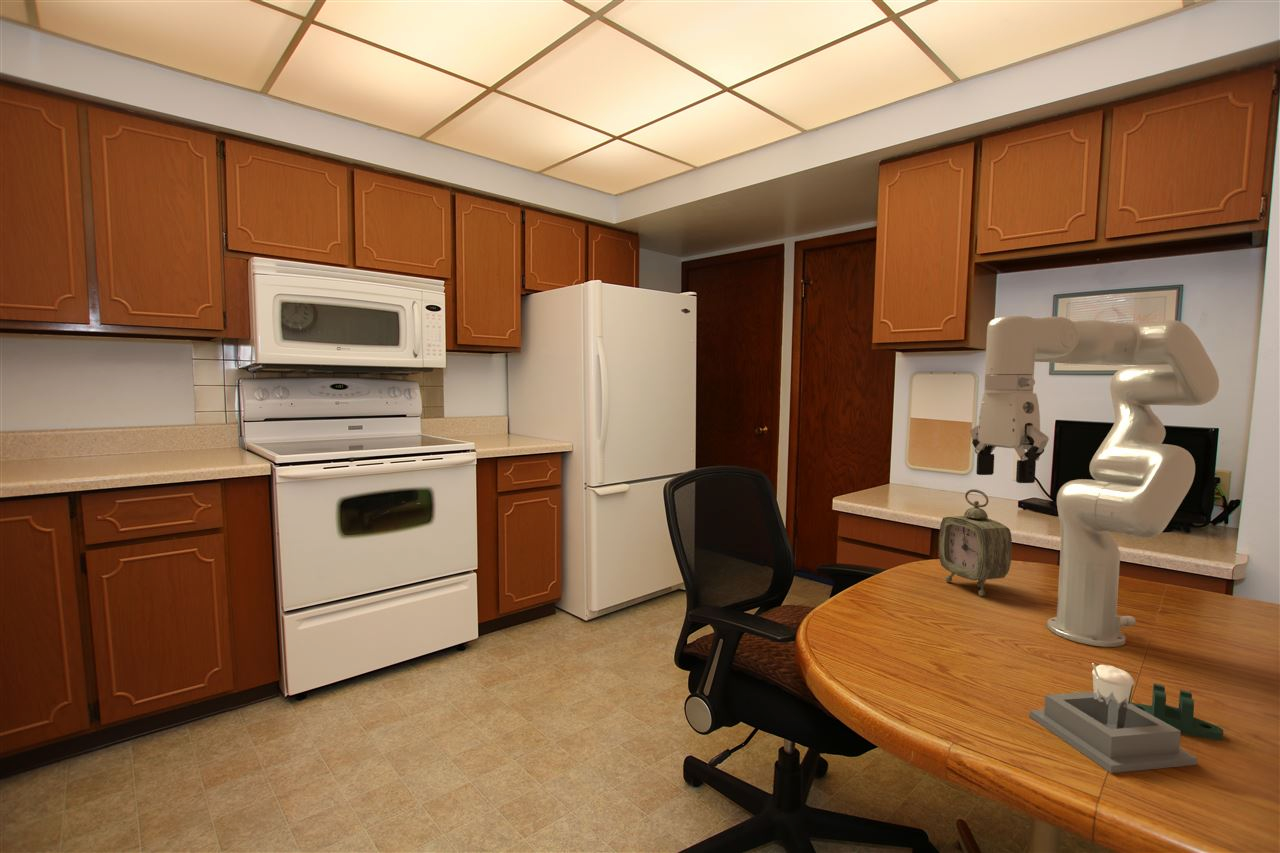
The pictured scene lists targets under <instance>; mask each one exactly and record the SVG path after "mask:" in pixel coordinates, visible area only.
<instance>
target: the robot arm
mask: <svg viewBox="0 0 1280 853" xmlns="http://www.w3.org/2000/svg"><path fill="white" fill-rule="evenodd" d="M985 348H986V349H985V350H986V351H985V372H984V374H985V376H984V388H983V389H984V392H983V395H982V399H981V403H980V408H979V409H980V410H979V415H978V425H976V426H974V427H973V428H971V429H970V430H969V433H970V438H971V440H972V441H971V443H972V445H973V447H974V453H975V454H976V475H977V476H992V475H994V471H995V454H994V453H993V451H994V450H995V448H997V447H998V448H1004V449H1005V448H1006V449H1014V451H1015V452H1016V454H1017V455H1018V458H1019V459H1017V460H1016V470H1015V471H1016V472H1015V473H1016V475H1015V482H1016V483H1018V484H1034V483H1035V482H1036V466H1037V465H1036V464H1037V461H1039V460H1040V457H1041V455H1042V454H1043V453H1044V452H1045V448H1046V446H1047V444H1048V442H1049V439H1050V438H1049V437H1048V435H1046V434H1045V433H1043V432H1042V431H1041V416H1040V415H1041V414H1040V406H1039V399H1038V394H1037V393H1035V392H1034V385H1035V384H1036V380H1035V363H1054V364H1055V363H1056V364H1068V365H1069V364H1070V365H1100V366H1102V365H1104V366H1115V367H1118V366H1119V367H1122V368H1120V369H1118V370H1117V371H1116V372H1114V374H1113V375H1112V377H1111V380H1110V386H1109V389H1110V395H1111V401H1112V405H1113V410H1114V423H1113V425H1112V427H1111V429H1110V430H1109V432H1107V435H1106V437H1105V438H1104V439H1103V441H1102V442H1101V444H1100V446H1099V447H1098V449H1097V450H1096V452H1095V453H1094V455H1093V456H1092V459H1091V461H1090V462H1089V473H1090V476H1091V477H1092V478H1093V479H1086V478H1085V479H1083V478H1081V479H1080V478H1079V479H1074V480H1069V481H1067V482H1065V483H1064V484H1063V485H1062V486H1061V487H1060V488H1059V490H1058V492H1057V494H1056V506H1057V514H1058V519H1059V520H1058V521H1059V525H1060V526H1059V529H1060V552H1059V571H1058V585H1057V586H1058V587H1057V588H1058V590H1057V608H1056V616H1054V617H1050V618H1048V619H1047V622H1046V623H1047V624H1046V627H1047V628H1048V629H1049V631H1051V632H1052V633H1054V634H1055V635H1057V636H1060V637H1062V638H1064V639H1066V640H1069V641H1073V642H1076V643H1079V644H1084V645H1088V646H1089V645H1090V646H1096V647H1103V648H1104V647H1106V648H1113V647H1114V648H1116V647H1120V646H1123V645H1124V644H1125V643H1126V636H1125V635H1124V633H1123V632H1121V631H1120V628H1121V629H1122V628H1123V627H1132V626H1135V624H1136V622H1137V621H1136V618H1135V617H1134V616H1132V615H1118V614H1117V610H1118V598H1119V597H1118V591H1119V579H1120V563H1121V553H1120V548H1119V546H1118V544H1117V541H1116V539H1115V538H1114V537H1113V535H1112V533H1114V534H1115V533H1116V534H1119V535H1125V536H1131V537H1136V538H1140V539H1141V538H1142V539H1150V538H1154V537H1156V536H1158V535H1160V534H1161V533H1163V532H1164V530H1165V529H1166V528H1167V526H1168V525H1169V523H1170V522H1171V520H1172V518H1173V517H1174V515H1175V514H1176V512H1177V510H1178V509H1179V507H1180V505H1181V504H1182V502H1183V500H1185V497H1186V496H1187V494H1188V493H1189V490H1190V489H1191V487H1192V485H1193V482H1194V478H1195V474H1196V463H1195V462H1196V461H1195V459H1194V457H1193V456H1192V454H1191V453H1190V451H1188V450H1187V449H1185V448H1183V447H1181V446H1178V445H1174V444H1167V443H1163V442H1164V440H1165V437H1166V434H1167V432H1166V428H1165V426H1164V424H1163V422H1162V420H1161V419H1159V417H1158V416H1157V414H1155V413H1154V412H1153V410H1152V408H1151V406H1180V407H1181V406H1184V407H1185V406H1186V407H1187V406H1188V407H1191V406H1192V407H1194V406H1202V405H1205V404H1207V403H1209V402H1211V401H1212V400H1214V398H1215V397H1216V396H1217V395H1218V393H1219V387H1220V379H1219V375H1218V374H1219V373H1218V372H1217V370H1216V369H1217V368H1215V366H1214V364H1213V362H1212V360H1211V358H1210V357H1209V355H1208V353H1207V351H1206V349H1205V347H1204V345H1203V344H1202V342H1201V341H1200V339H1199V337H1198V336H1197V334H1196V333H1195V332H1194V331H1193V330H1192V329H1191V328H1190V327H1189V326H1188V325H1187V324H1185V323H1184V322H1183V321H1180V320H1175V319H1174V320H1173V319H1170V320H1169V319H1167V320H1160V321H1159V320H1158V321H1149V322H1148V321H1147V322H1138V323H1137V322H1136V323H1135V322H1134V323H1126V322H1124V323H1123V322H1116V321H1105V320H1096V319H1095V320H1094V319H1093V320H1092V319H1091V320H1090V319H1088V320H1074V321H1073V320H1071V319H1069V318H1067V317H1063V316H1047V317H1036V318H1035V317H1032V316H1027V315H1010V316H1007V315H1006V316H1000V317H999V316H998V317H996V318H993V319H991V320H990V321H989V322H988V323H987V328H986V346H985Z"/></svg>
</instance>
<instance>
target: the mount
mask: <svg viewBox="0 0 1280 853" xmlns="http://www.w3.org/2000/svg"><path fill="white" fill-rule="evenodd" d="M1152 684H1153V685H1152V701H1151V705H1150V704H1142V703H1137V702H1130V703H1131V704H1132V705H1134V706H1136V707H1138V708H1140V709H1142V710H1143V711H1145V712H1147V713H1149V714H1151V715H1153V716H1154V717H1156V718H1158V719H1160V720H1162V721H1163V722H1165V723H1167V724H1169V725H1171V726H1173V727H1174V728H1176V729H1178V730H1180V731H1181V732H1180V734H1184V735H1187V736H1191V737H1196V738H1203V739H1207V740H1209V739H1210V740H1214V741H1222V740H1223V739H1224V729H1223V728H1222V727H1220V726H1218V725H1217V724H1213V723H1210V722H1208V721H1206V720H1203V719H1200V718H1198V717H1194V713H1195V702H1194V699H1193V693H1192V692H1191V691H1188V690H1183V689H1179V698H1178V707H1175V706H1171V705H1168V704H1167V693H1166V692H1165V691H1166V690H1165V689H1166V688H1165V685H1163V684H1159V683H1152Z"/></svg>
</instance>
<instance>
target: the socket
mask: <svg viewBox="0 0 1280 853" xmlns="http://www.w3.org/2000/svg"><path fill="white" fill-rule="evenodd" d="M1044 695H1045V697H1044V709H1032V710H1029V718H1031V719H1032V720H1033V721H1035V722H1037V723H1038V724H1039V725H1041V726H1042V727H1043V728H1045V729H1046V730H1047V731H1049V732H1051V733H1052V734H1054V735H1055V736H1056V737H1057V738H1059V739H1061V740H1062V741H1064V742H1065V743H1066V744H1068V745H1070V746H1071V747H1072V748H1074V749H1075V750H1077V751H1078V752H1080V754H1083V755H1084V756H1085V757H1087V759H1088V758H1089V759H1090V760H1091V761H1092V762H1094V763H1095V764H1096V765H1098V766H1100V767H1101V768H1103V769H1105V771H1107V772H1108V773H1110V774H1115V773H1116V774H1117V773H1126V772H1137V771H1146V770H1156V769H1167V768H1168V769H1169V768H1178V767H1189V766H1197V765H1198V756H1196V755H1193V754H1192V753H1190V752H1188V751H1187V750H1185V749H1184V748H1182V747H1180V744H1181V733H1180V732H1181V731H1180V730H1178V729H1176V728H1174V727H1173V726H1171V725H1169V724H1167V723H1165V722H1163V721H1162V720H1160V719H1158V718H1156V717H1154V716H1153V715H1151V714H1149V713H1147V712H1145V711H1143V710H1142V709H1140V708H1138V707H1136V706H1134V705H1132V704H1131V703H1132V702H1130V704H1129V710H1128V716H1127V722H1126V728H1121V729H1110V728H1108V727H1106V726H1105V725H1103V724H1102V723H1100V722H1098V721H1097V720H1095V717H1094V690H1093V691H1083V692H1082V691H1081V692H1070V693H1069V692H1068V693H1056V694H1055V693H1054V694H1044Z"/></svg>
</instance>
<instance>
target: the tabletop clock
mask: <svg viewBox="0 0 1280 853" xmlns="http://www.w3.org/2000/svg"><path fill="white" fill-rule="evenodd" d="M970 493H978V494H980V495H981V496H983V497H984V498H985V503H983V504H980V502H979V501H978V500H974V501H973V502H972V501H970V500H969V499H968V495H969V494H970ZM964 498H965V500H966V502H967V503H968V504H969V505H971V506H973V507H969V508H967V509H966V510H965V511H964V514H963V515H957V516H946V517H943V518H942V519H941V522H940V526H939V536H938V556H939V562H940V565H941V567H943V568H944V569H945V570H947V571H948V572H950V575H946V576H945V581H946V582H947V583H950V582H952V581H953V577H954V576H955V575H956V576H959V577H960V578H964V579H967V580H969V581H970V580H971V581H977V582H976V587H977V588H979V590H978V595H979V596H980V597H985V596H986V594H987V591H986V590H984V589H985V582H986V581H987V580H997V579H1005V577H1006V576H1007V575H1008V573H1009V571H1010V568H1011V563H1012V562H1011V561H1012V548H1013V547H1012V546H1013V545H1012V542H1013V540H1012V533H1011V529H1010V528H1008V527H1007V526H1006V525H1004V524H1003V523H1001V522H999V521H997V520H994V519H991V518H989V516H988V514H987V512H986V511H985V510H984V509H983V508H985V507H986V506H987V505H988V504H989V498H988V496H987V494H986V493H985V492H983V491H981V490H979V489H977V488H976V489H969V490H967V491H966V493H965V495H964Z"/></svg>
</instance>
